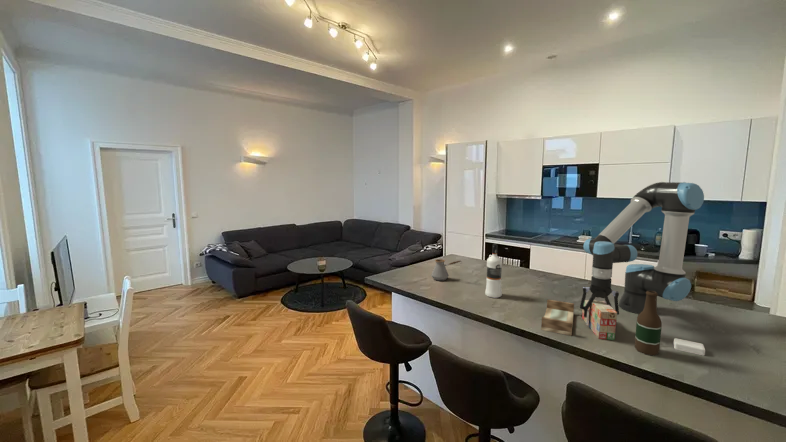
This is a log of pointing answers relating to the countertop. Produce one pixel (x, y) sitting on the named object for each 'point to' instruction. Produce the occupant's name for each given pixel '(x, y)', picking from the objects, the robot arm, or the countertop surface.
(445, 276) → the coffee pot
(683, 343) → the soap
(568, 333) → the cradle
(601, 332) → the stack of blocks
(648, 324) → the beer bottle
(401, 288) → the countertop surface
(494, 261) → the vodka
